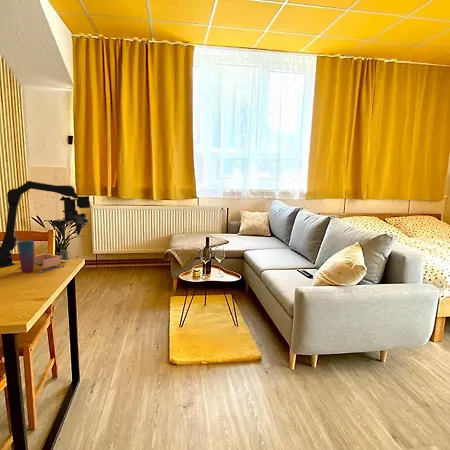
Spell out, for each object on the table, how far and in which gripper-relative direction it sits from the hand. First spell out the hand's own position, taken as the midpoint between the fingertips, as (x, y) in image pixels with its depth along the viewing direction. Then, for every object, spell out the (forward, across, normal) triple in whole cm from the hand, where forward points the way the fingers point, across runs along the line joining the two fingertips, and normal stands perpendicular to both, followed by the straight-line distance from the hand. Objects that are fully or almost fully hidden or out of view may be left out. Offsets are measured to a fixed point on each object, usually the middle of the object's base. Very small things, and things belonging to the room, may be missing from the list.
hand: (71, 236), depth 184 cm
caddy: (+13, -13, 0) cm, 18 cm away
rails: (+13, -18, 0) cm, 22 cm away
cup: (+13, -26, 0) cm, 29 cm away
